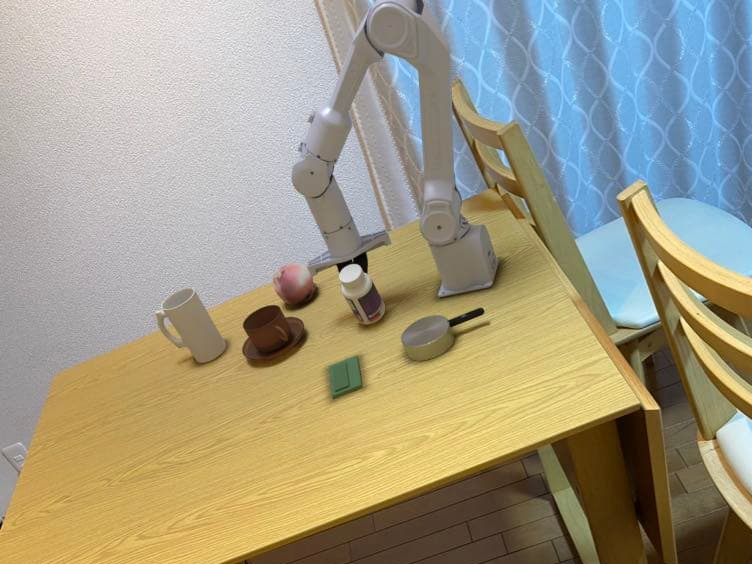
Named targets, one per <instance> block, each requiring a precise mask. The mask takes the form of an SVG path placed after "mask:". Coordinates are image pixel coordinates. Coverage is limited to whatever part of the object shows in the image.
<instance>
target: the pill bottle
mask: <svg viewBox="0 0 752 564" xmlns="http://www.w3.org/2000/svg"><path fill="white" fill-rule="evenodd" d="M338 274H339V273H338ZM338 279H339V281H340V283H341V287H340V288H341V293H342V296H343V297H344V299H345V301H346V303H347V305H348V306H349V308H350V310H351V311H352V313H353V315H354V317H355V319H356V320H357V321H358V322H359V323H360V324H361V325H372V324H374V323H377V322H378V321H380V320H381V319H382V318H383V317H384V315H385V314H386V313H385V312H386V305H385V302H384V300H383V298H382V297H381V295H380V292H379V291H378V289H377V287H376V285H375V283H374V281H373V279H372V277H371V276H370V275H369V274H366V273H364V272H363V270H362V268H361V267H360V266H359V265H357V264H351V265H348V266H346V267H345V268H343V269H342V270H341V272H340V274H339V275H338Z"/></svg>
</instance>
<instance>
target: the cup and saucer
mask: <svg viewBox="0 0 752 564" xmlns="http://www.w3.org/2000/svg"><path fill="white" fill-rule="evenodd" d="M242 329H243V330H244V332H245V334H246V335H247V338H246V340H245V341H244V343H243V345H242V349H241V352H242V355H243V357H245V358H246V359H247V360H249V361H254V362H265V361H266V362H267V361H269V360H273V359H277V358H279V357H280V356H283V355H284V354H286V353H287V352H289V351H290V350H291V349H293V348H294V347H295V346H296V345H297V344H298V343H299V342H300V340H301V338H302V336H303V334H304V331H305V324H304V322H303V320H302V319H300V318H299V317H296V316H285V315H284V312H283V310H282V308H281V306H280V305H276V304H268V305H265V306H263V307H259V308H258V309H256V310H254V311H253V312H252V313H250V314H249V315H247V317H245V318H244V320H243V323H242Z"/></svg>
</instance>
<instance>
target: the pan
mask: <svg viewBox="0 0 752 564" xmlns="http://www.w3.org/2000/svg"><path fill="white" fill-rule="evenodd" d="M484 314H485V309H484V308H483V307H478V308H475V309H473V310H470V311H468V312H466V313H462V314H460V315H458V316H455V317H453V318H450V319H449V318H447V317H446V316H444V315H439V314H435V315H434V314H433V315H427V316H424V317H422V318H419V319H418V320H415V321H413V322H412V323H411V324H409V325H408V326H407V327H406V328H405V329H404V331H403V332H402V334H401V337H400V341H401V343H402V346H403V348H404V351H405V354H406V355H407V357H408V358H409V359H410V360H413V361H419V362H421V361H429V360H431V359H434V358H437V357H439V356H441V355H442V354H445V352H447V351H448V350H449V349H450V348H451V347H452V345H453V344H454V342H455V338H456V336H455V333H454V330H453V327H456V326H458V325H462V324H464V323H466V322H469V321H471V320H474V319H476V318H479V317H482V316H483V315H484Z"/></svg>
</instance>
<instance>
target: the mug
mask: <svg viewBox="0 0 752 564" xmlns="http://www.w3.org/2000/svg"><path fill="white" fill-rule="evenodd" d="M195 289H196V288H194V287H190V286H189V287H184V288H181V289H178V290H176V291H174V292H172V293H170V294H169V295H168V296H167V297H166V298H165V299H163V301H162V302H161V305H160V308H161V309H157V310H155V311H154V315H155V318H156V321H157V322H156V323H157V326H158V328H159V330H160V332H161V333H162V335H163V336H164V337H165V338H166V339H167V340H168V341H169V342H171V343H172V344H173V345H174V346H176V347H177V348H178V349H182V348H187V349H188V350H189V351H190V353H191V354H192V356H193V358H195V360H196V361H197V362H198V363H200V364H201V363H202V364H205V363H208V362H211V361H213V360H215V359H217V358H218V357H220V356H221V355H222V354H223V353H224V352H225V350H226V348H227V344H226V342H225V340H224V339H223V337H222V334H221V333H220V331H219V329H218V328H217V326H216V324H215V322H214V320H213V318H212V316H211V315H210V314H209V312H208V310H207V308H206V307H205V305H204V303H203V301H202V300H201V297H200V296H199V294H198V293H197V291H196V290H195ZM166 318H167V319H168V320H169V322H170V323H171V325H172V326H173V329H175V331H176V332H177V334H178V335H179V337H180V338H179V337H177V336H174V335H173V334H172V333H171V332H170V331H169V330H168V329H167V328H166V325H165V322H164V319H166Z"/></svg>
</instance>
